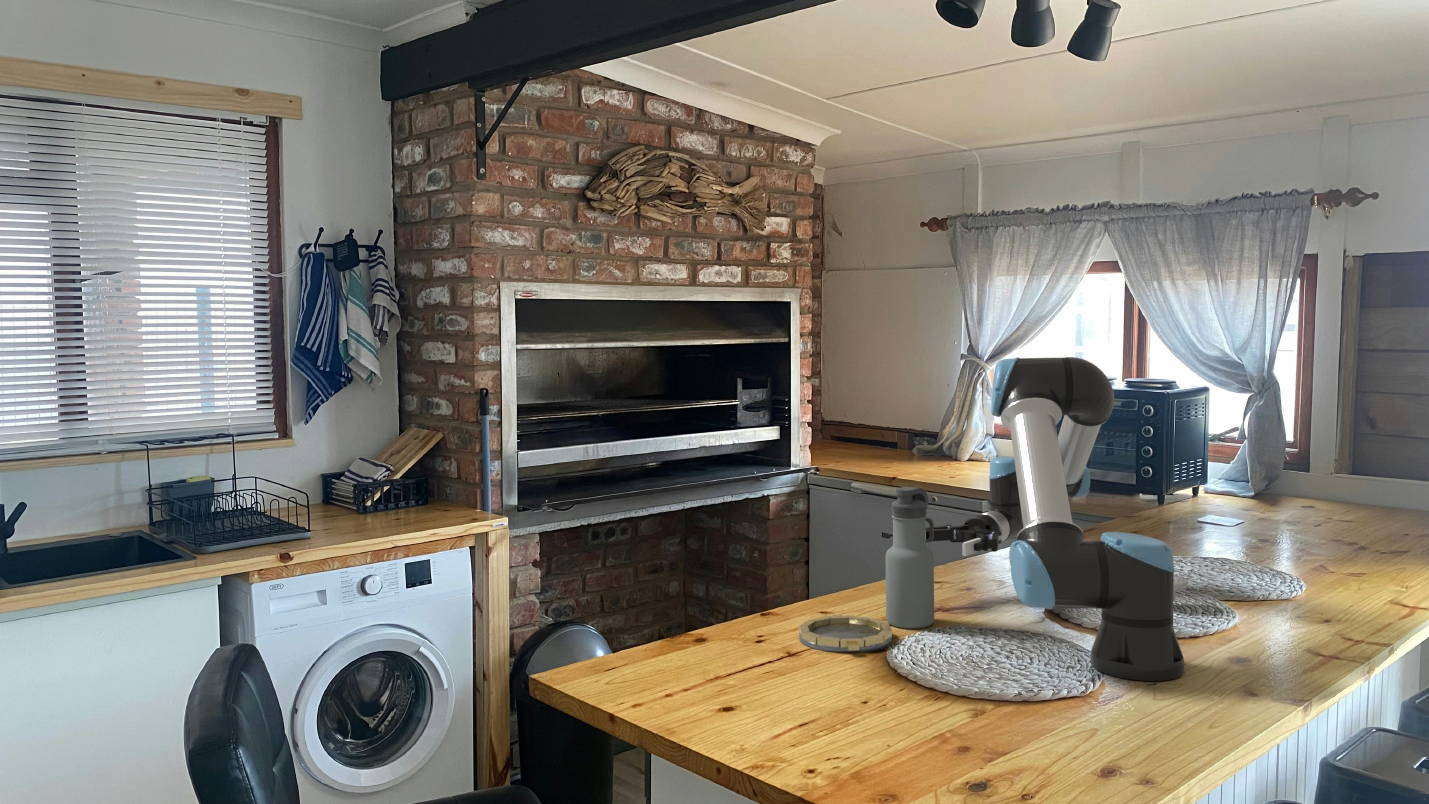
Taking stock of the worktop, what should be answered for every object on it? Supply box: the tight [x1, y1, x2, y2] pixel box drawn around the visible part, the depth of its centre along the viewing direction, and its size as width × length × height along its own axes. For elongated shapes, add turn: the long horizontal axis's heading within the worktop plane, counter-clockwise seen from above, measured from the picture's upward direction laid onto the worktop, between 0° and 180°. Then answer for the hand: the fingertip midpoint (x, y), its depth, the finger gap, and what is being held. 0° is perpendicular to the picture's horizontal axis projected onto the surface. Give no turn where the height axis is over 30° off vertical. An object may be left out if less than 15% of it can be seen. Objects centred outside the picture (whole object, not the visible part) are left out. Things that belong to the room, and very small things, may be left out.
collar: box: [798, 614, 893, 654], centre depth 199 cm, size 22×18×2 cm
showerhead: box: [1173, 574, 1189, 602], centre depth 216 cm, size 9×7×10 cm
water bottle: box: [884, 486, 935, 630], centre depth 209 cm, size 10×10×28 cm
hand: (935, 545), depth 216 cm, fingers open, 13 cm apart
